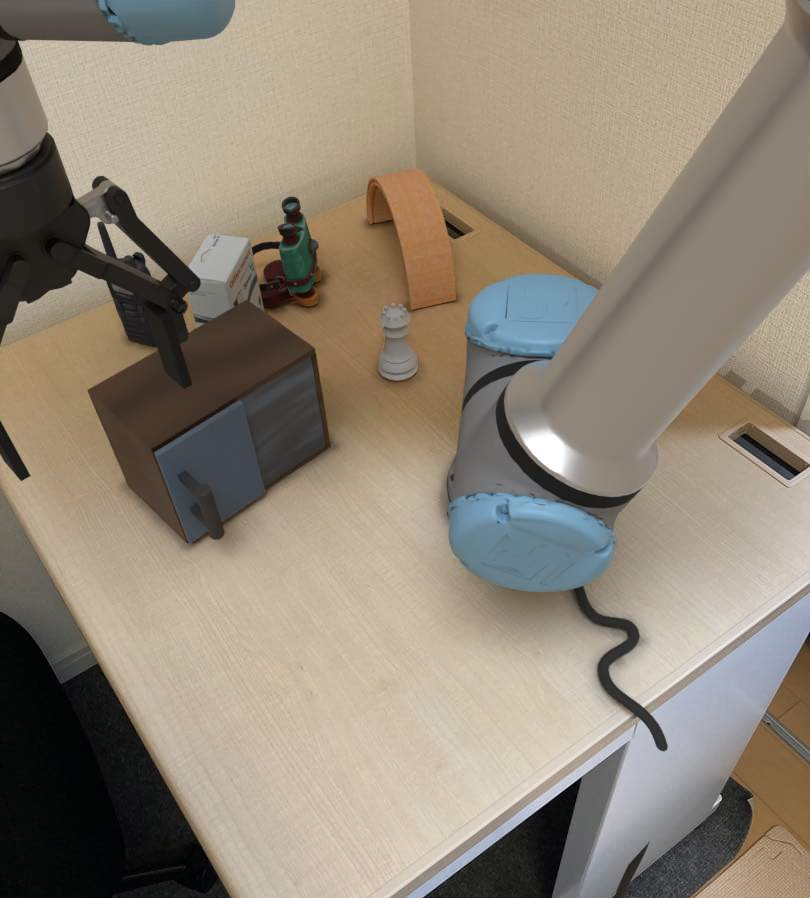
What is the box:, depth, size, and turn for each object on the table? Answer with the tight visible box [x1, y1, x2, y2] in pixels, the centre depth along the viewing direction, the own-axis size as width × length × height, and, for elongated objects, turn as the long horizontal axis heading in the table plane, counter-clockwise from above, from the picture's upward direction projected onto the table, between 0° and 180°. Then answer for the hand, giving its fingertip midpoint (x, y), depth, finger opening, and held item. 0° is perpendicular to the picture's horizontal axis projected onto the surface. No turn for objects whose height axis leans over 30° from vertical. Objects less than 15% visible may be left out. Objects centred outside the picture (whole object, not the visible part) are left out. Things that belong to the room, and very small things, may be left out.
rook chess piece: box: [377, 302, 419, 382], centre depth 97 cm, size 4×4×8 cm
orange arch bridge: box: [365, 168, 457, 311], centre depth 109 cm, size 6×20×10 cm, turn 16°
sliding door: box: [154, 400, 267, 545], centre depth 82 cm, size 5×9×12 cm, turn 133°
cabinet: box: [86, 300, 332, 544], centre depth 88 cm, size 10×18×13 cm, turn 133°
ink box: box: [187, 233, 265, 328], centre depth 100 cm, size 9×5×12 cm, turn 168°
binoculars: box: [251, 196, 323, 308], centre depth 107 cm, size 9×11×10 cm
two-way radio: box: [96, 220, 157, 347], centre depth 101 cm, size 6×4×15 cm
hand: (101, 422), depth 67 cm, fingers open, 13 cm apart
